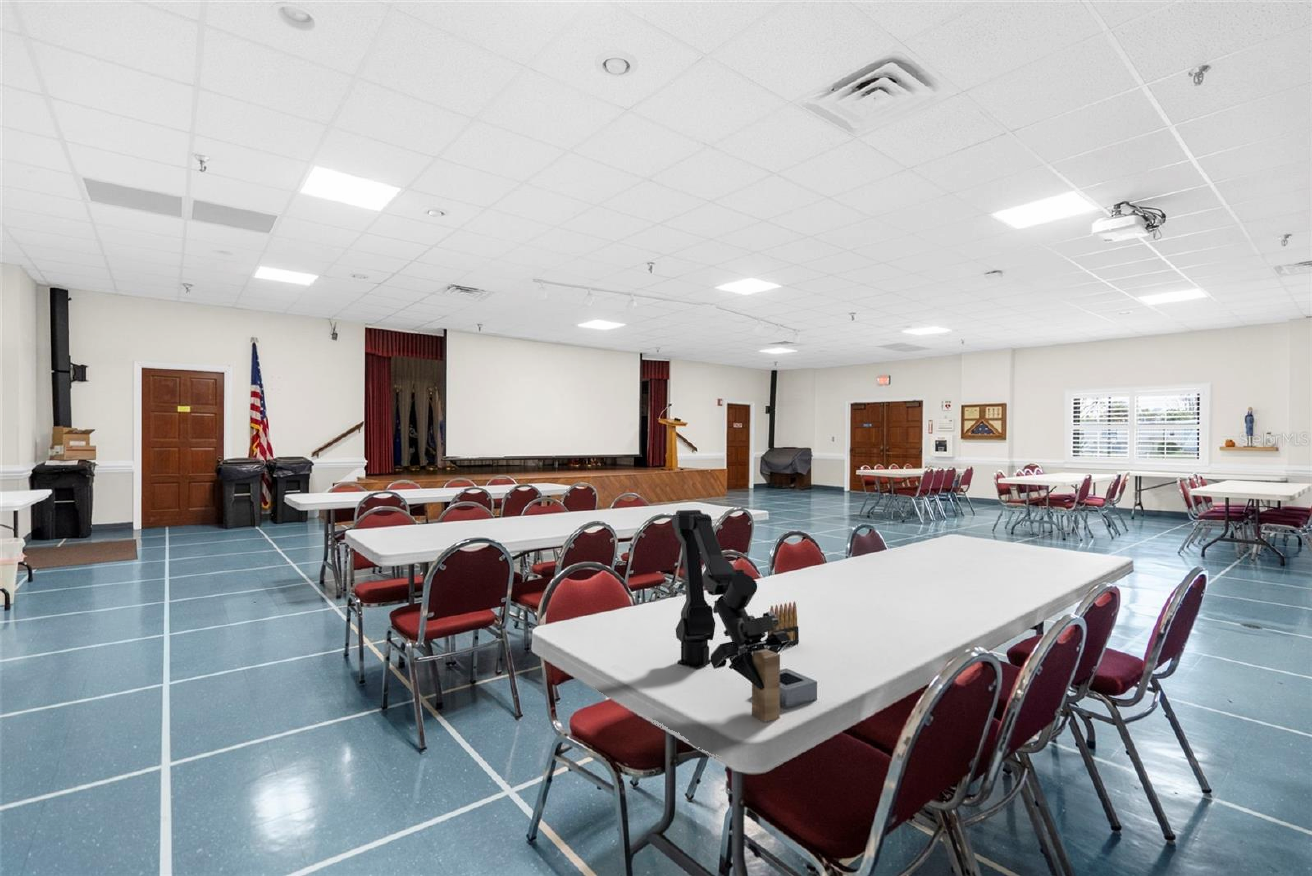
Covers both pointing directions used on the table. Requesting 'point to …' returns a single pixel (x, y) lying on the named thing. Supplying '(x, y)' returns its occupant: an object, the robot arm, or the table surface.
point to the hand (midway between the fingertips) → (770, 686)
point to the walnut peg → (766, 686)
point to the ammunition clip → (787, 622)
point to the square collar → (796, 689)
